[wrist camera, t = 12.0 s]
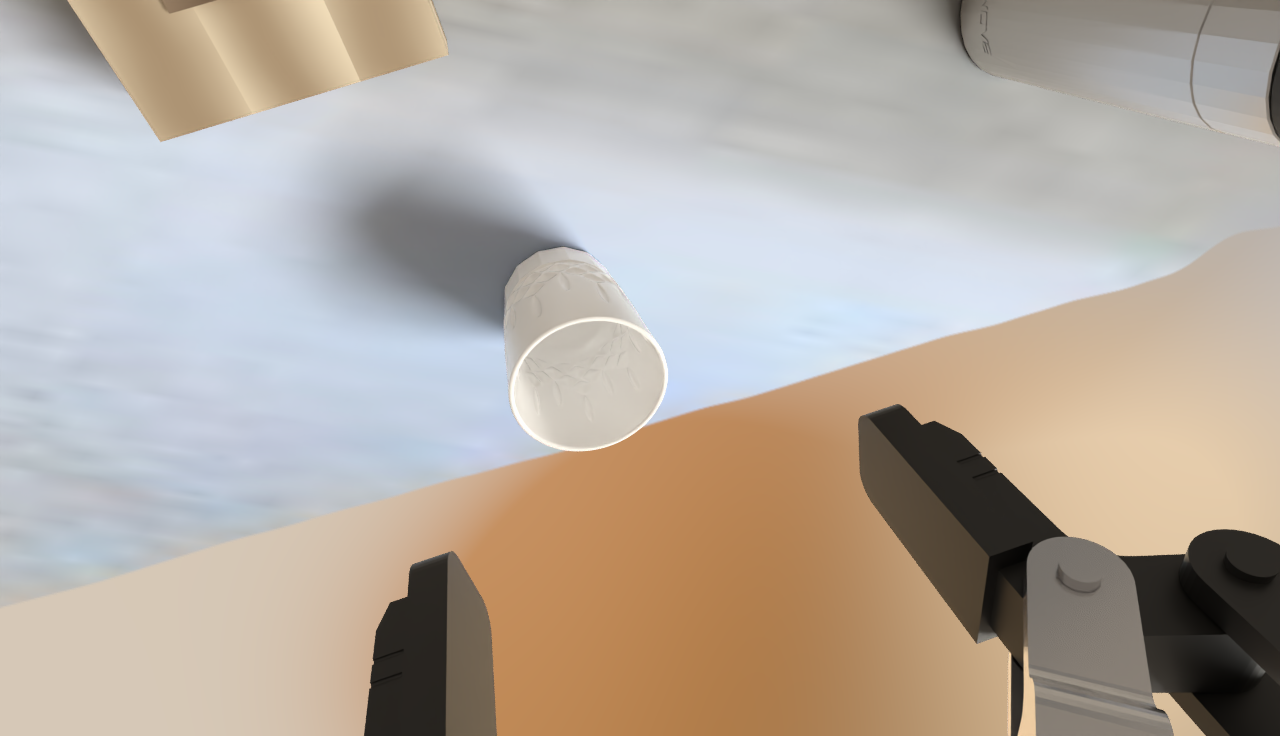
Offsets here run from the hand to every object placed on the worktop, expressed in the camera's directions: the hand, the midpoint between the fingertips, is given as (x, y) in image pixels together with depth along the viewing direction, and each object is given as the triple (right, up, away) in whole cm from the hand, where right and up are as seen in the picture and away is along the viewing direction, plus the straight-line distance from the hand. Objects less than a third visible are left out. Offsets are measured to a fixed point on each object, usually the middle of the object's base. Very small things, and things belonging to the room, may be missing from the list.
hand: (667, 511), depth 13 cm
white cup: (-5, +7, +28) cm, 29 cm away
